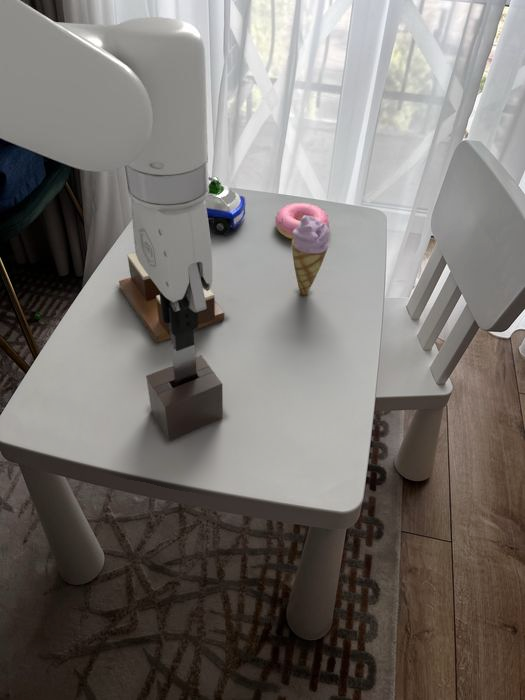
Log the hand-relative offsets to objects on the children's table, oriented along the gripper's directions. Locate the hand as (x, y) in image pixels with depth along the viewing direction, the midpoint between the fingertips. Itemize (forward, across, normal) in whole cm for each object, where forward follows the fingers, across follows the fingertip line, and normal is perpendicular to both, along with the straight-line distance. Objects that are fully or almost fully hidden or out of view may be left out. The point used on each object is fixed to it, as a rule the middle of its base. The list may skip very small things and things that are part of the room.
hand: (180, 323), depth 62 cm
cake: (+15, -27, +8) cm, 32 cm away
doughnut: (+17, -32, +41) cm, 55 cm away
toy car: (+17, -43, +27) cm, 53 cm away
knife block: (+17, 0, 0) cm, 17 cm away
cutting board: (+17, -23, +8) cm, 29 cm away
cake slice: (+15, -16, +8) cm, 23 cm away
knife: (+13, 0, 0) cm, 13 cm away
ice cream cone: (+17, -15, +30) cm, 37 cm away
